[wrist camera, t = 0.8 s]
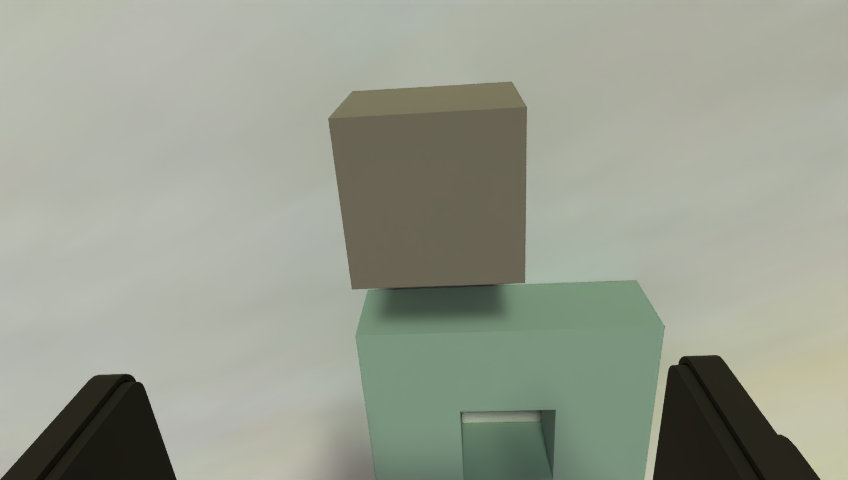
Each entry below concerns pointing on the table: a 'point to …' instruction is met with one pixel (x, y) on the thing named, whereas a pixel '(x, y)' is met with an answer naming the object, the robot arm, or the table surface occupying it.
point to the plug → (432, 185)
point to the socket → (510, 380)
